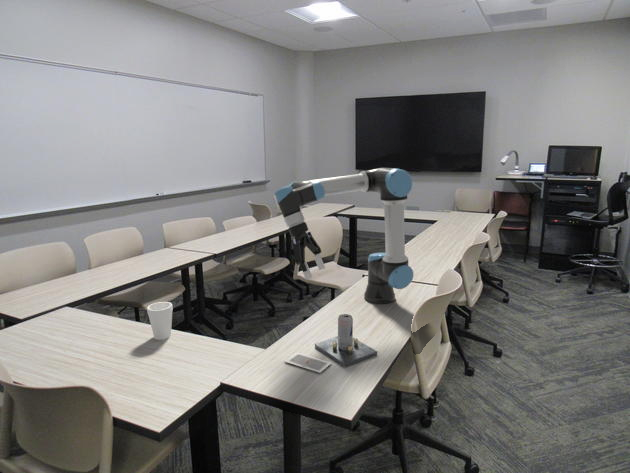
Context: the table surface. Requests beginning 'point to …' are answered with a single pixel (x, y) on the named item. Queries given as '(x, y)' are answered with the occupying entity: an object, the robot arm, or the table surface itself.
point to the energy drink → (345, 331)
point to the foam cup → (160, 319)
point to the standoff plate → (346, 351)
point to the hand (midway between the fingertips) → (316, 273)
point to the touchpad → (308, 362)
